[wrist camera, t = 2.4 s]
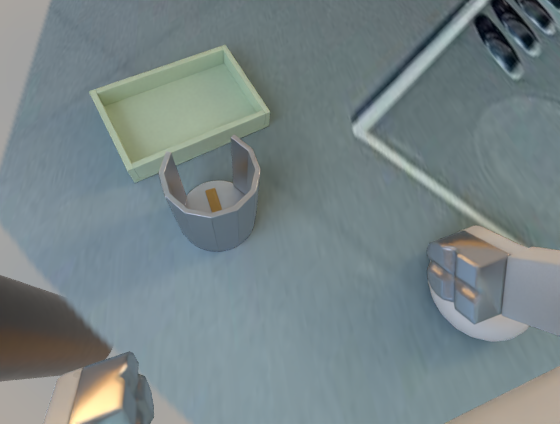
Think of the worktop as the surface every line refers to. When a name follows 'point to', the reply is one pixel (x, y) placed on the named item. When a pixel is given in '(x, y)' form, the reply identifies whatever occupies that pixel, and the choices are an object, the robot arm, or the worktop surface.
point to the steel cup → (233, 198)
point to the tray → (180, 110)
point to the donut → (485, 330)
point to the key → (213, 200)
